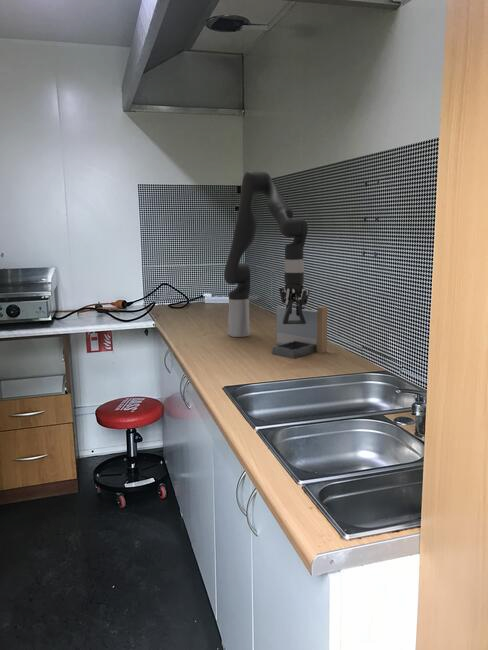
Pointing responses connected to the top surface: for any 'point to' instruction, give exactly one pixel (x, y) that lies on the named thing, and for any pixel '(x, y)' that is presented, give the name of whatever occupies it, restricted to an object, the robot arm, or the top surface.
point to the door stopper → (287, 313)
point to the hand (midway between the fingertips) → (294, 314)
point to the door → (304, 328)
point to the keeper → (298, 347)
